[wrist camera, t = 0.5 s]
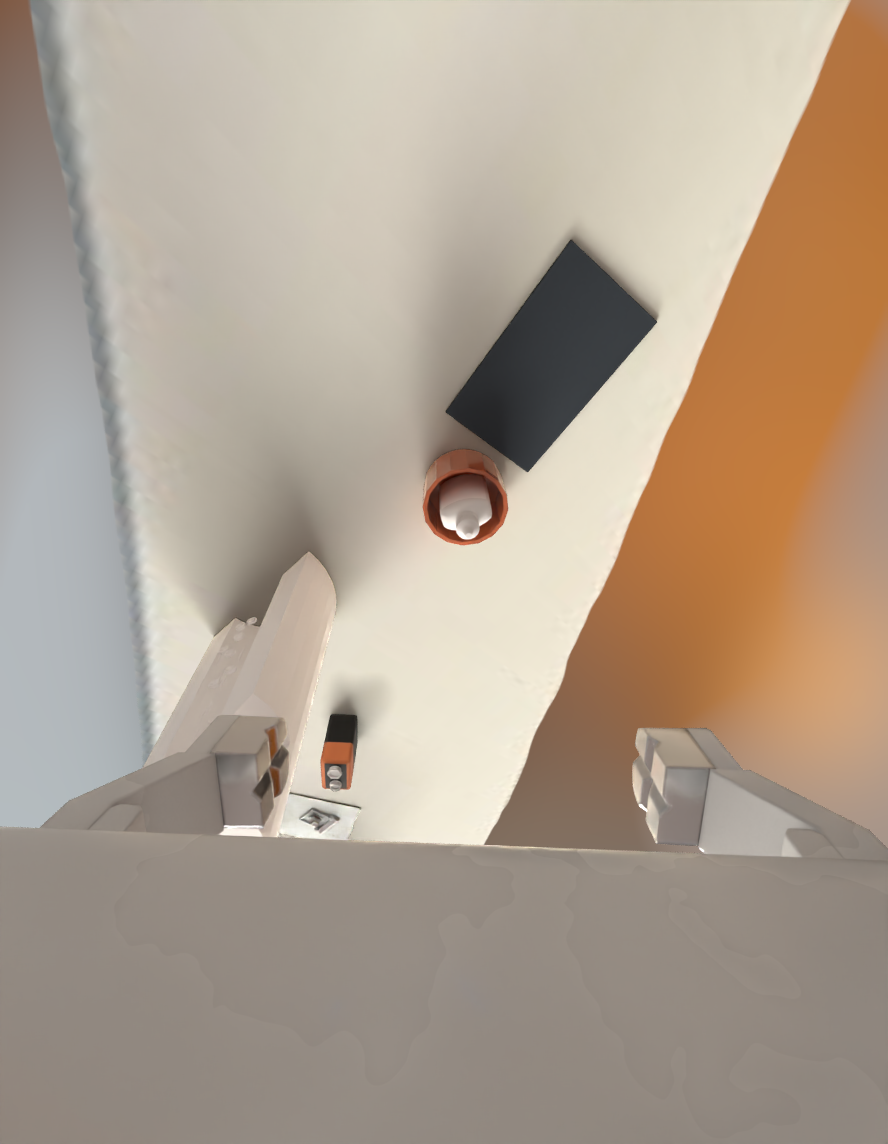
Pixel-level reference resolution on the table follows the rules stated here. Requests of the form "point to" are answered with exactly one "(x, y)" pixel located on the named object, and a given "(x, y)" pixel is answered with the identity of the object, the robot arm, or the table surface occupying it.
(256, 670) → the white curved half cylinder
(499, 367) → the mat
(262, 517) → the table surface
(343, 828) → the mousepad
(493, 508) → the cup
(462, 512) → the eye dropper bottle
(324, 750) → the battery
